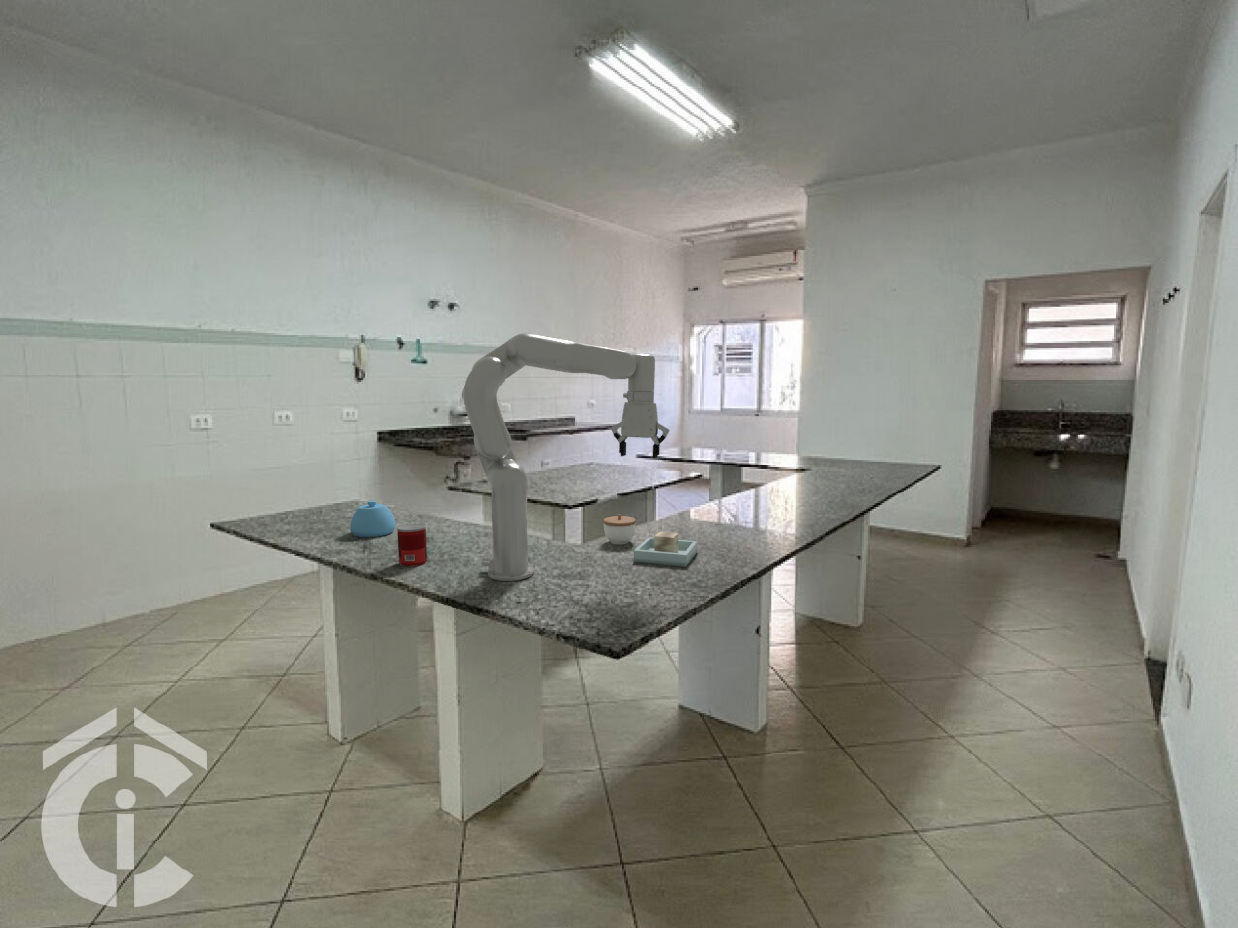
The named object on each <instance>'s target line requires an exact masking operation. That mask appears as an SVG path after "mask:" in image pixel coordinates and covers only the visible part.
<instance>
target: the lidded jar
mask: <svg viewBox="0 0 1238 928" xmlns="http://www.w3.org/2000/svg"><path fill="white" fill-rule="evenodd" d="M636 522H637V520H636V519H635V517H632V516H624V515H622V514H620V513H619V514H617V515H615V516H614V515H613V516H608V517H606V518H603V522H602V523H603V530H604V534H605V537H606V539H607V540H608V542H609V541H610V543H611V544H613V545H626V544H629V543H630V541H631V540H632V539H633V538H634V536H635V533H636V532H635V531H636Z"/></svg>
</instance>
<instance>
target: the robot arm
mask: <svg viewBox="0 0 1238 928" xmlns="http://www.w3.org/2000/svg"><path fill="white" fill-rule="evenodd" d="M524 367H532V368H538V369H545V370H548V371H549V370H550V371H555V372H562V373H569V374H587V375H588V374H589V375H590V374H591V375H597V376H604V377H605V378H607V379H610V380H627V391H626V392H624V393H623V394H622V398H624V399H626V401H627V402H626V401H624V403H623V409H622V415H621V416H622V417H621V422H619V423H617V424H614V425H612V426H610V430H611V432H612V434H613V436H614V438H615V439H616V440H617V442H618V445H619V446H618V447H619V448H618V449H619V450H618V452H619V454H620V457H625V456H626V455H627V442H626V440H627V439H628V438H641V439H643V438H647V439H651V440H652V442H653V443H654V444H653V445H652V458H653V459H657V458H658V456H659V455H660V447H661V446H660V444H662V443H663V441H665V440H666V438H667V436H668V435H669V433H670V429H669V428H667V427H665V426H664V425H662V424H661V423H659V422H658V421H659V418H658V407H657V403H656V402H654V401H655V400H654V399H655V376H656V375H655V373H656V358H655V356H654V355H652V354H648V353H646V354H645V353H633V354H631V353H630V352H627V351H624V350H619V349H614V348H610V347H609V348H608V347H604V346H603V347H602V346H597V345H591V344H585V343H582V342H576V341H570V340H564V339H559V338H553V337H548V336H543V335H540V334H539V335H538V334H534V333H533V334H532V333H527V332H524V333H519V334H516V335H514V336H513V337H511V338H510V339H508V340H507V341H505V342H504V343H502V344H501V345H500V346H498V347H496V348H495V349H493V350H492V351H491V352H489V353H487V354H486V355H483V357H481V358H479V359H477V361H475V363H474V364H473V366H472V368H471V370H470V372H469V373H468V374H467V375H468V376H467V377H466V380H465V382H464V383H465V384H464V388H463V394H462V395H463V397H462V398H463V405H464V408H465V412H466V414H467V417H468V420H469V424H470V426H471V428H472V432H473V434H474V435H473V444H474V447H475V450H476V453H477V456H478V458H479V460H480V463H481V466H482V468H483V471H484V472H485V473H484V474H485V475H486V478H487V481H488V482H489V485H490V487H491V526H492V527H491V530H492V532H491V533H492V557H489V556H483V557H482V561H481V566H485V567H489V569H488V570H487V576H488V578H490V579H492V580H494V581H495V580H496V581H499V582H503V581H504V582H513V581H519V580H521V581H522V580H525V579H528V578H531V577H532V576H533V575H534V574H535V572H534V571H535V569H534V567H533V566H531V565H529V548H528V546H529V545H528V544H529V543H528V541H529V539H528V511H527V510H528V506H527V505H528V487H529V483H528V476H527V473H526V471H525V469H524V468H523V467H522V466H521V465H520V464H519V463H518V461H517V459H516V455H515V454H514V450H513V448H512V437H511V434H510V432H509V430H508V428H507V425H506V423H505V421H504V418H503V414H502V412H501V409H500V406H499V403H498V398H497V397H498V396H497V395H498V391H499V388H500V387H501V386H502V385H504V383H505V381H506V380H507V379H509V378H510V377H511V376H513V375H514V374H516V373H517V372H518V371H520V370H522V369H523V368H524ZM618 429H620V433H621V434H620V433H619V432H618V431H619V430H618ZM659 431H661V432H662V434H661V435H660V436H658V434H659V433H658V432H659Z"/></svg>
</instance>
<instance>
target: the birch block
mask: <svg viewBox="0 0 1238 928" xmlns="http://www.w3.org/2000/svg"><path fill="white" fill-rule="evenodd" d="M653 538H654V551H659V552H671V553H678V540H679V533H678V532H669V531H658V532H657V533H656V534H655V535H654V537H653Z"/></svg>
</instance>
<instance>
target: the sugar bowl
mask: <svg viewBox="0 0 1238 928" xmlns="http://www.w3.org/2000/svg"><path fill="white" fill-rule="evenodd" d="M396 525H397V524H396V520H395V517H394V515H393V512H391V510H390V508H389V507H387V505H385V504H384V503H377V500H368V501H367V504H363V505H360V506H358V508H357V509H356V511H355V512H354V513H353V516H352V517H351V520H350V526H349V530H350V532H351V533H352V534H353V535H354V536H355V537H357V538H376V537H377V538H378V537H382V536H383V537H385V536H386V535H390V534H392V533H393V531H394V530H395V529H396Z"/></svg>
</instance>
